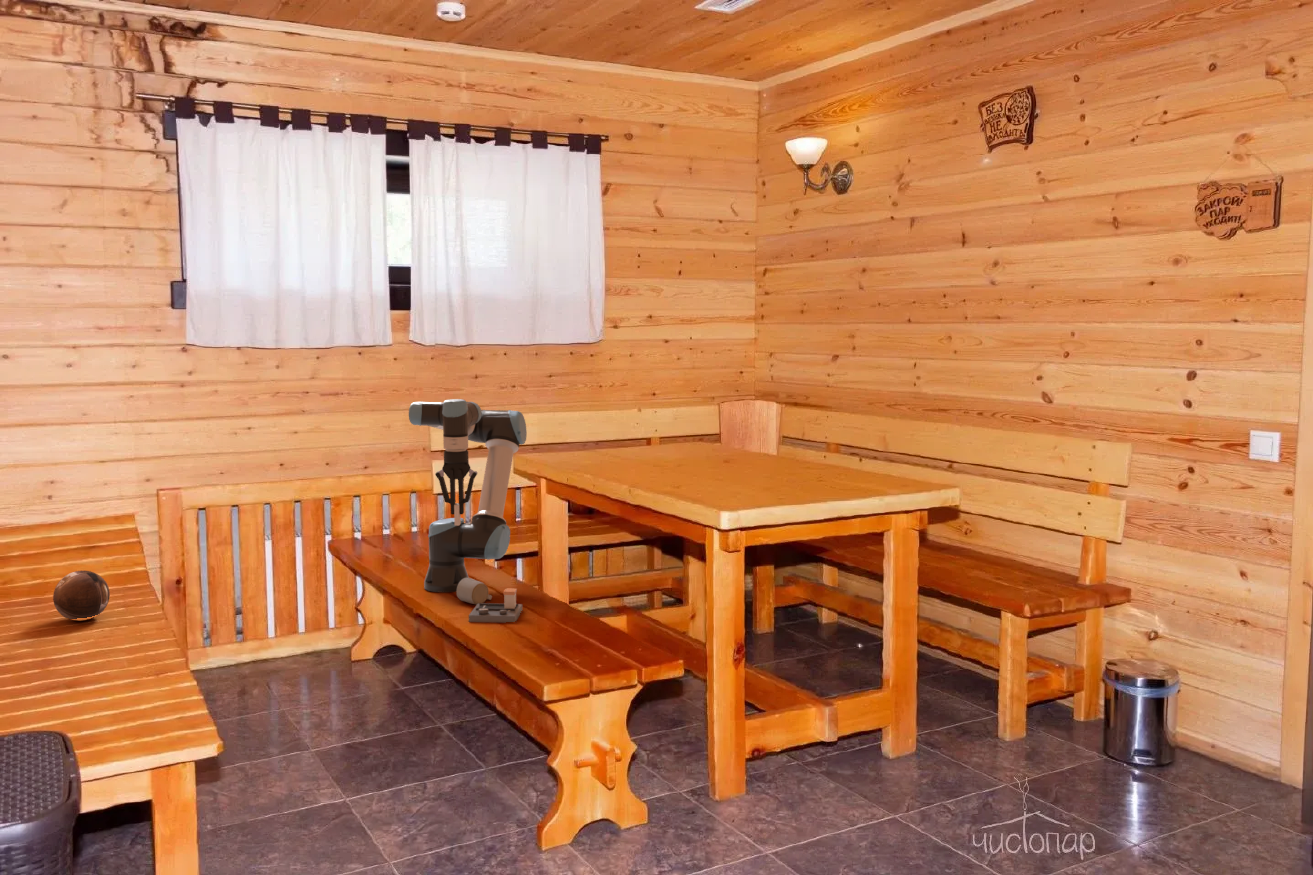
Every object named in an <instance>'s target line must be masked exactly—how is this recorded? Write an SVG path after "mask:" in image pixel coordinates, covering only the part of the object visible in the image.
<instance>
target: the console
mask: <svg viewBox="0 0 1313 875" xmlns="http://www.w3.org/2000/svg"><path fill="white" fill-rule="evenodd" d="M521 611H522V612H523V603H516V607H515V608H514V609H513V608H504V603H493V602H492V603H490V602H487V603H485V602H484V603H480V604H479V603H478V604H475V607H474V608H473V609H472V610H471V611H470V612H469V615H468V622H469V623H506V622H515V621H516V622H517V620H518V619H519V617H520V615H521V614H522V612H521ZM520 613H521V614H520ZM516 622H515V623H516Z"/></svg>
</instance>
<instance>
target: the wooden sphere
mask: <svg viewBox="0 0 1313 875" xmlns="http://www.w3.org/2000/svg"><path fill="white" fill-rule="evenodd" d="M110 594H111V592H110V588H109V585H108V583H107V581H106V580H105V579H104V578H103V577H102V576H101V575H100V574H98V573H96V572H94V571H91V570H78V571H77V570H76V571H73V572H70V573H68V574H66V575H65V576H64V577H62V578H61V579H60V580H59V582H58V583H57V584H56V585H55V587H54V590H53V594H52V596H53V600H52V601H53V605H54V607H55V609H56V610H57V612H58V613H59V614H60V615H61V616H62V617H63V618H65V619H67V618H69V619H77V618H87V617H92V616H95V615H98V614H99V615H101V614H102V613H103V612H104V610H105V609H106V608H107V606H108V604H109V601H110ZM100 613H101V614H100ZM99 615H98V616H99ZM69 619H68V620H69Z"/></svg>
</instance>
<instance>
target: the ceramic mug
mask: <svg viewBox="0 0 1313 875" xmlns="http://www.w3.org/2000/svg"><path fill="white" fill-rule="evenodd" d="M455 593H456V597H457V598H458V600H460V601H461V602H466V603H468V604H471V605H477V604H478V603H479V604H480V603H485V602H486V601H487V600H489V601H491V600H492V598H493V596H492V595H491V594H490V593H489V588H488V585H486V583H484V582H482V581H479V580H477V579H473V578H470V577H469V578H464V579H462V580H461V581H460V582H459V584H458V586H457V591H456V592H455Z"/></svg>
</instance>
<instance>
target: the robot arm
mask: <svg viewBox="0 0 1313 875" xmlns="http://www.w3.org/2000/svg"><path fill="white" fill-rule="evenodd" d="M408 408H409V409H408V420H409V423H410V424H411V425H414V426H419V427H422V426H426V427H431V428H436V429H438V430H441V431H443V433H442V434H443V438H442V439H443V440H442V441H443V443H442V444H443V449H444V451H443V465H442V469H440V470H438V471H437V472H436V473H435V477H436V479H437V480H438V481H439V486H440V489H441V492H442V493H441V494H442V496H443V500H444V502H445V503H447V504H449V506H450V514H451V515H454V517H450V518H443V519H439V520H434V521H433V522H431V523H430V524H429V526H428V536H427V537H428V559H429V562H428V563H429V564H428V568H427V571H426V575H425V577H424V581H423V586H424V587H423V588H424V590H425V591H429V592H434V593H454V592H455V593H457V592H456V591H457V586H458V584H459V582H460V581H461V580H462V579H464V578H470V576H469V575H468V571H467V569H466V565H465V559H477V560H479V559H480V560H481V559H482V560H499V559H501V558H503V557H504V556H505V554H506V553H507V550H508V549H509V545H510V541H511V529H510V526H508V524H507V521H506V519H505V518H504V512H505V507H506V506H505V505H506V500H507V494H508V488H509V483H510V476H511V470H512V464H513V458H514V454H516V453H517V452H518V451H519V448H520V445H521V446H522V445H525V443H526V441H527V424H526V419H525V416H524V415H523V413H522V412H521V411H519V410H511V409H508V410H500V409H499V410H494V409H491V410H490V409H482V408H481V406H480V405H479V404H478V403H476V402H474V401H466V400H465V399H463V398H462V399H460V398H454V399H453V398H451V399H445V400H444V401H443V402H438V401H437V402H433V401H431V402H429V401H414V402H412V403H410V406H409V407H408ZM469 441H470V442H473V443H481V444H483V443H484V445H485V447H486V448H487V450H488V452H487V457H486V463H485V470H484V475H483V480H482V487H481V491H480V496H479V497H480V498H479V504H478V508H477V509H478V510H477V513H474V514H473V516H472V518H471V522H468V523H467V522H465V520H464V518H463V517H461V515H463V514H464V513H465V508H464V507H465V504H466V503H469V501H470V500H471V494H472V490H473V485H474V482H475V478H476V477H477V475H478V472H477V471H476V470H473V469H472V468H471V465H470V462H469V450H468V449H469ZM468 473H469V474H468ZM467 474H468V476H469V479H468V483H467V489H466V492H465V491H464V480H465V477H467ZM445 475H446V476H447V478H448V480H449V492H450V493H449V492H448V488H447V485H446V481H445ZM456 480H457V483H458V484H457V485H458V486H457V487H458V488H457V489H458V502H457V503H456V501H457V500H456ZM464 492H465V493H466V494H465V493H464ZM449 494H450V495H449ZM464 494H465V495H464Z"/></svg>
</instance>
